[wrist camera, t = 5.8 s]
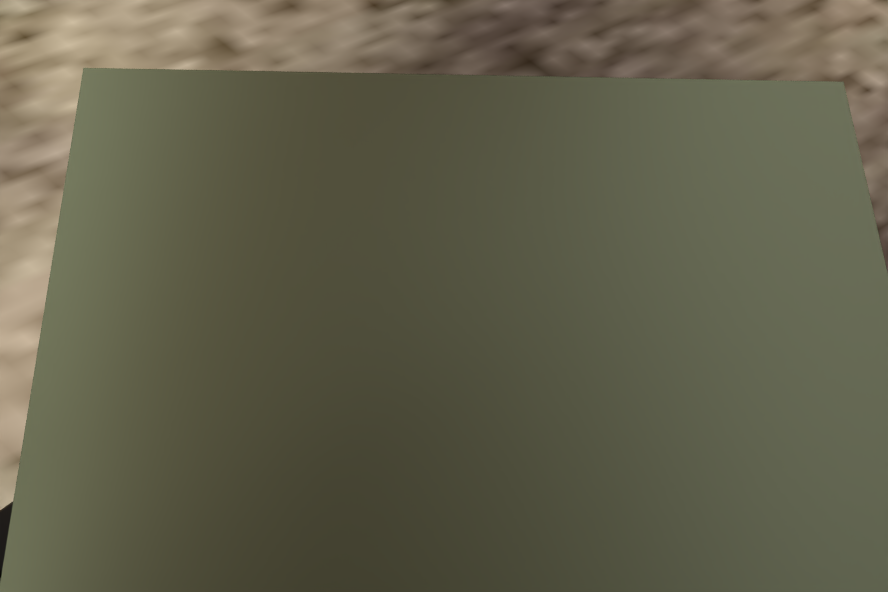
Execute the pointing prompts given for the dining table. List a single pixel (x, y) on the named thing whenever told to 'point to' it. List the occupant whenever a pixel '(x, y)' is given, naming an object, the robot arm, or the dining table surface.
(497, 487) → the sage pillar
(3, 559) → the robot arm
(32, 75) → the dining table surface
